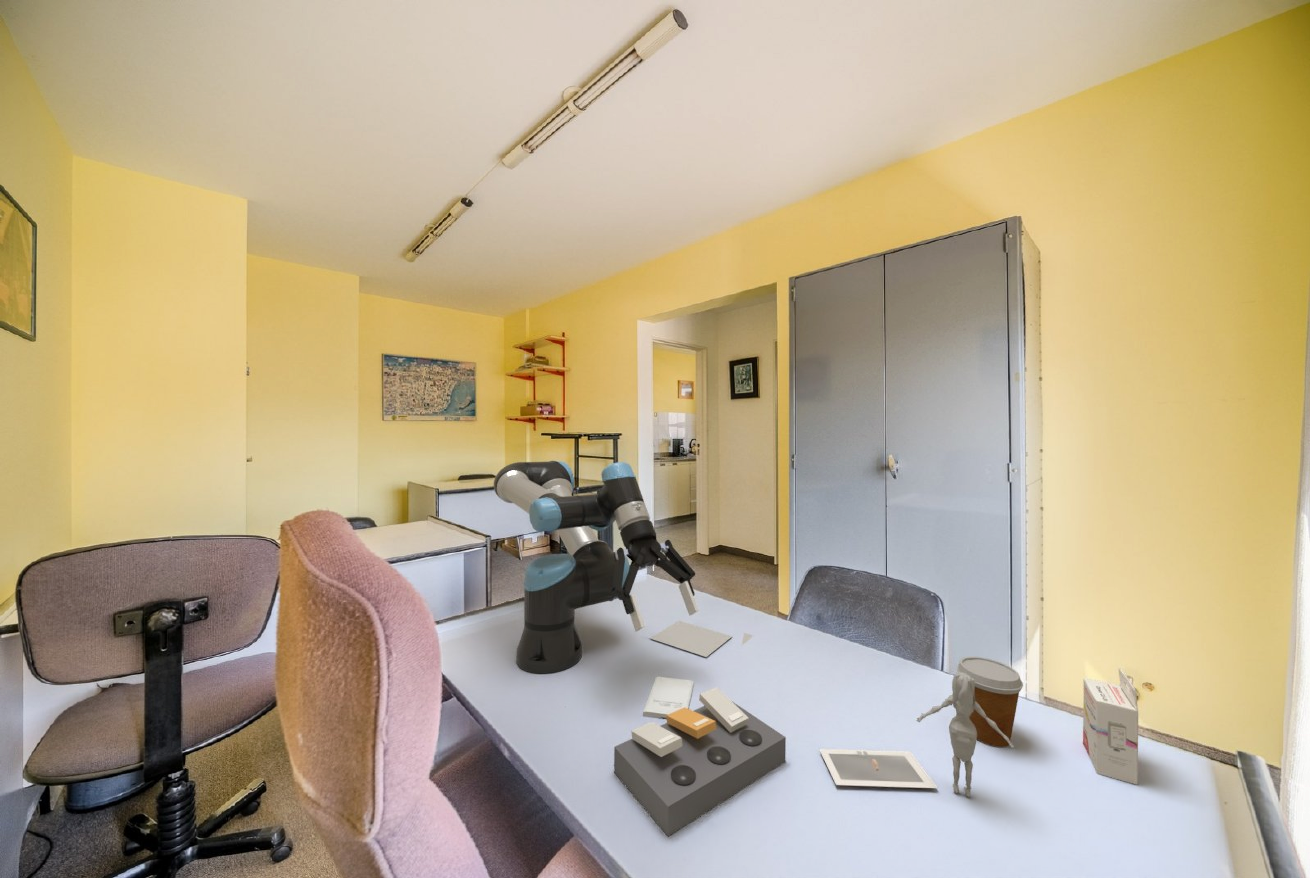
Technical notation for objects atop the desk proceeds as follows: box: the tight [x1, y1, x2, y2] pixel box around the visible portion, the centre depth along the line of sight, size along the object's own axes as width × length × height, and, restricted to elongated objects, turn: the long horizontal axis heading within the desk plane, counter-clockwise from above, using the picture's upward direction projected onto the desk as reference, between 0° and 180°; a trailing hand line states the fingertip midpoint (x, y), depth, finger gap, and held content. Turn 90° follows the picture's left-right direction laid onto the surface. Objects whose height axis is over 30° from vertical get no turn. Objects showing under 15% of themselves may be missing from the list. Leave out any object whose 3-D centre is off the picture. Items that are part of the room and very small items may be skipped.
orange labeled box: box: [665, 707, 716, 739], centre depth 75 cm, size 8×4×1 cm, turn 36°
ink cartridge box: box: [1082, 667, 1139, 786], centre depth 74 cm, size 9×5×15 cm, turn 148°
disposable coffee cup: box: [956, 656, 1024, 748], centre depth 81 cm, size 10×10×12 cm
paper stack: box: [649, 620, 754, 658], centre depth 120 cm, size 23×25×1 cm
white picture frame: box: [818, 748, 938, 789], centre depth 72 cm, size 8×15×2 cm, turn 88°
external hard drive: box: [642, 676, 695, 719], centre depth 91 cm, size 2×8×12 cm
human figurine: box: [915, 671, 1015, 798], centre depth 67 cm, size 12×4×18 cm, turn 61°
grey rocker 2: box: [698, 686, 749, 733], centre depth 78 cm, size 8×4×1 cm, turn 35°
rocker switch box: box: [613, 701, 787, 837], centre depth 73 cm, size 14×24×4 cm, turn 126°
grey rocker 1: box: [631, 721, 682, 757], centre depth 71 cm, size 8×4×1 cm, turn 36°
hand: (668, 621), depth 92 cm, fingers open, 13 cm apart
